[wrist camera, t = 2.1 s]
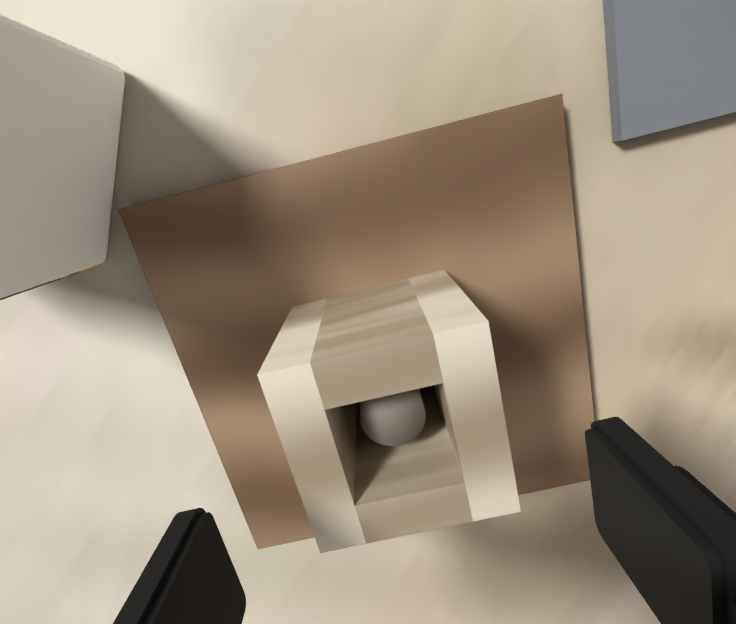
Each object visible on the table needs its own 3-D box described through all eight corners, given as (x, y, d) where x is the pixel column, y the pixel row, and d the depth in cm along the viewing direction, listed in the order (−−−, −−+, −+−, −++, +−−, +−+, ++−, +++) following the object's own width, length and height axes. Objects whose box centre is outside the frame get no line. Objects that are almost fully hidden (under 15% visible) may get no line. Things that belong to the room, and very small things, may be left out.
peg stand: (129, 207, 16) (27, 223, 11) (552, 97, 16) (644, 61, 10) (261, 535, 21) (230, 648, 16) (591, 466, 20) (667, 563, 15)
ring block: (292, 306, 17) (257, 374, 11) (444, 269, 17) (488, 320, 11) (332, 436, 19) (320, 552, 13) (471, 406, 18) (520, 511, 13)
